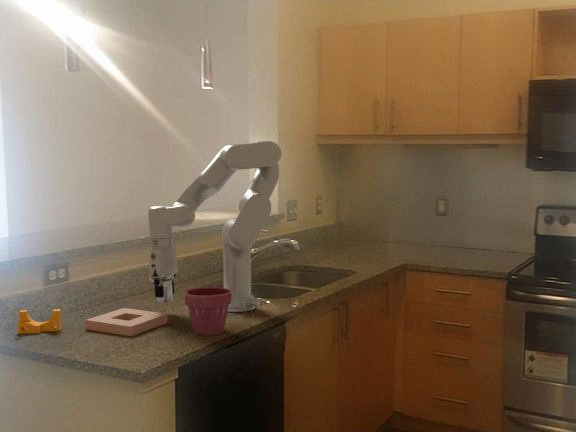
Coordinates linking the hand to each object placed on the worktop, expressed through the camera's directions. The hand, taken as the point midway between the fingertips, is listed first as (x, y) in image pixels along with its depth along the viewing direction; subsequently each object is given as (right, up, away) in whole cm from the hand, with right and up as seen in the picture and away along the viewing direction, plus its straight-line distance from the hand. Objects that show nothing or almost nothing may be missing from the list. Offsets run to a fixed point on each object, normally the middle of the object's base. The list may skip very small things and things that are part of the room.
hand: (164, 294), depth 239 cm
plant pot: (+17, -9, -22) cm, 30 cm away
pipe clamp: (-35, -9, -21) cm, 42 cm away
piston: (0, -2, 0) cm, 2 cm away
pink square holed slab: (-9, -8, -15) cm, 20 cm away
